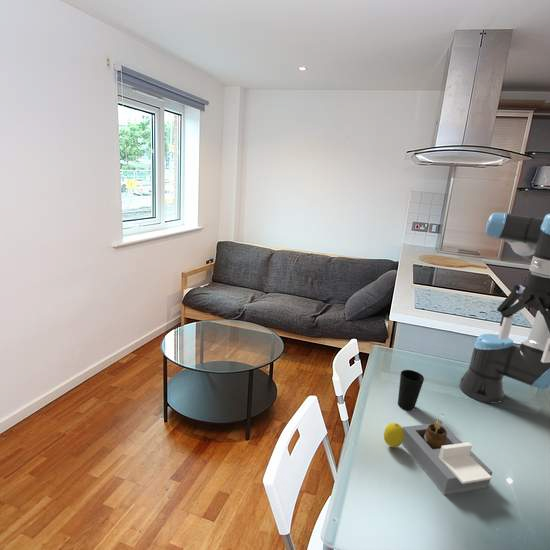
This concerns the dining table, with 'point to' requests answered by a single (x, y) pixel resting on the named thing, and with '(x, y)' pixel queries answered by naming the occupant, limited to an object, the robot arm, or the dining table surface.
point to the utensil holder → (435, 435)
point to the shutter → (462, 463)
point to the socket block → (438, 460)
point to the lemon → (393, 435)
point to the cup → (409, 389)
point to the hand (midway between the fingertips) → (523, 349)
